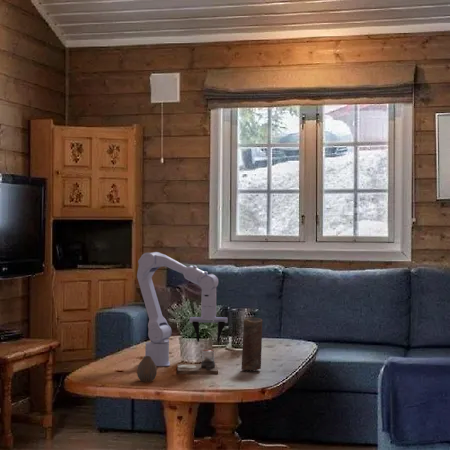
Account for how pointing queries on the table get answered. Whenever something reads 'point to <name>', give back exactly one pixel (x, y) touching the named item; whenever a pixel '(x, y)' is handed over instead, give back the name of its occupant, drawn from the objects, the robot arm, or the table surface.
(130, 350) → the table surface
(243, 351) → the candle
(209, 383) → the table surface
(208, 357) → the knob
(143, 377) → the vase
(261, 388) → the table surface
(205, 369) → the base board
